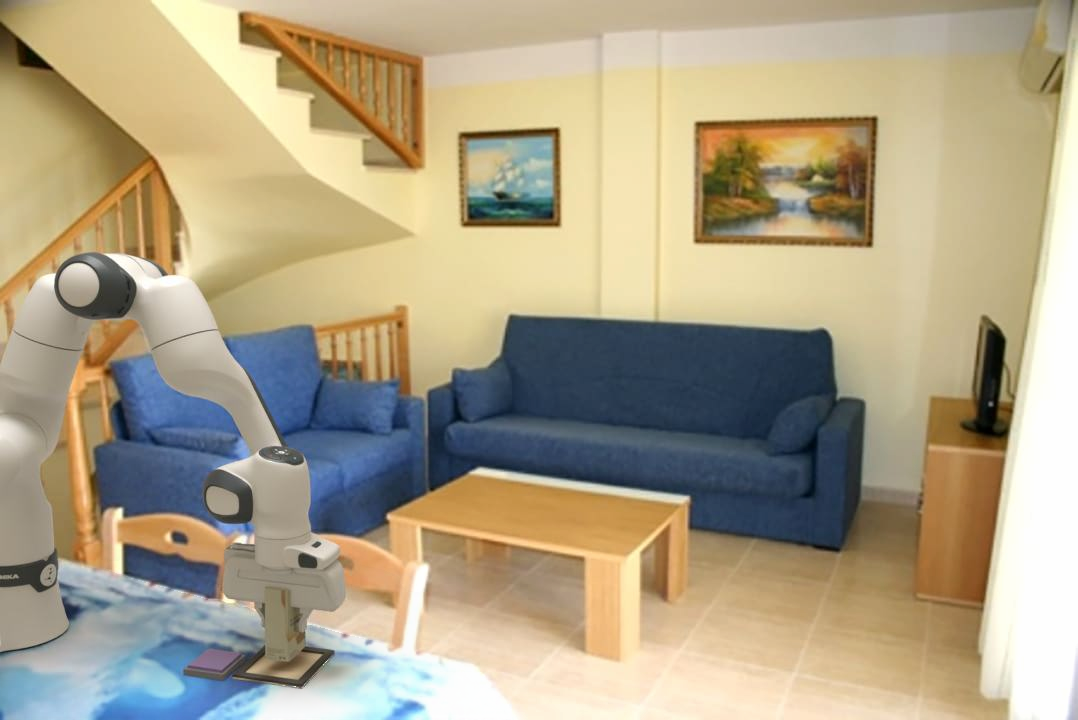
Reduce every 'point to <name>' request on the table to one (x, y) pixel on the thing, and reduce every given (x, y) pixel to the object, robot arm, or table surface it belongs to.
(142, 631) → the table surface
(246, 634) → the table surface
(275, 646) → the skincare box
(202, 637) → the table surface
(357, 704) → the table surface
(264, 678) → the framed board
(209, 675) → the pad
